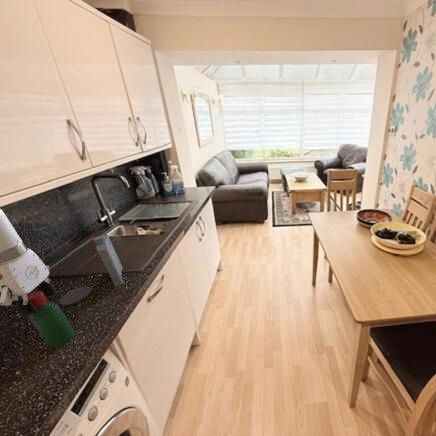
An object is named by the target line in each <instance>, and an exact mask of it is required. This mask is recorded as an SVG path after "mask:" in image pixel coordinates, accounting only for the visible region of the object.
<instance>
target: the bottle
mask: <svg viewBox="0 0 436 436" xmlns="http://www.w3.org/2000/svg"><path fill="white" fill-rule="evenodd" d="M36 309H37V310H38V312H37V313H35V314H30V315H28V319H29V321H30V322H31V324H32V325H33V326H34V328H35V329H36V330H37V331H38V333H39V334H40V335H41V337H42V338H43V339H44V341H45V342H46V344H47V345H48V346H49V348H51V349H52V348H53V349H57V348H59V347H60V348H61V347H62V346H64V345H66V344H68V343H69V342H70V341H72V340H73V339H74V337H75V335H76V333H77V332H76V330H75V329H74V327H73V326H72V324H71V323H70V321H69V320H68V318H67V316H66V315H65V314H64V312H63V311H62V309H61V307H60V306H59V304H58V303H56V302H54V301H53V302H52V301H47V302H46V303H45V304H43V305H42V306H40V307H37V308H36Z"/></svg>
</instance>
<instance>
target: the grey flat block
mask: <svg viewBox="0 0 436 436" xmlns="http://www.w3.org/2000/svg"><path fill="white" fill-rule="evenodd" d="M92 240H93V242H94V243H95V248H96V250H97V253H98V255H99V257H100V260H101V261H102V263H103V265H104V267H105V269H106V271H107V273H108V275H109V277H110V279H111V281H112V283H113V285H114V287H116V288H118V287H121V286H122V285H124V284H125V283H124V279H123V277H122V272H123V265H122V263H121V260H120V259H119V256H118V254H117V252H116V250H115V248H114V245H113V244H112V241H111V239H110V236H109V235H108V234H107V233H106V234H105V233H104V234H102V235H97V236H95V237H93V238H92Z"/></svg>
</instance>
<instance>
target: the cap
mask: <svg viewBox="0 0 436 436" xmlns="http://www.w3.org/2000/svg"><path fill="white" fill-rule="evenodd" d="M27 298H28V302H29V301H31V302H32V303H33V305H34V306H35V308H37V307H40V306H42V305H43V304H45V303H46V302H48V298H47V296H45V295H44V293H43V292H42V291H39V290H36V291H33V292H30V293H28V294H27Z"/></svg>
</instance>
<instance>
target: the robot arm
mask: <svg viewBox="0 0 436 436" xmlns="http://www.w3.org/2000/svg"><path fill="white" fill-rule="evenodd" d="M50 275H51V273H50V266H49V265H45V263H44V262H43V261H42V259H41V258H40V257H39V255H37V254H36V253H35V252H34V251H33V250H32V249H31V248H29V247H27V246H26V245H25V243H24V242H23V240H22V238H21V237H20V235H19V234H18V233H17V230H16V229H15V227H14V226H13V225H12V223H11V222H10V220H9V218H8V217H7V215H6V213H5V212H4V211H3V209H2V208H0V293H1V294H0V306H2V307H3V306H4V307H6V306H7V307H16V308H18V310H19V312H20V313H21V314H22V315H23V316H29V315H30V314H35V313H37V312H38V310H37V309H36V308H35V306H34V305H33V303H32V302H31V301H29V302H28V298H27V295H29V294H31V293H32V291H34V289H36V288H37V291H42V292H43V293H44V295H45V296H46V297H50V296H55V295H57V294H56V293H57V292H56V290H55V289H54V288H53V286H52V284H51V279H50ZM19 297H20V299H19Z"/></svg>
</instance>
